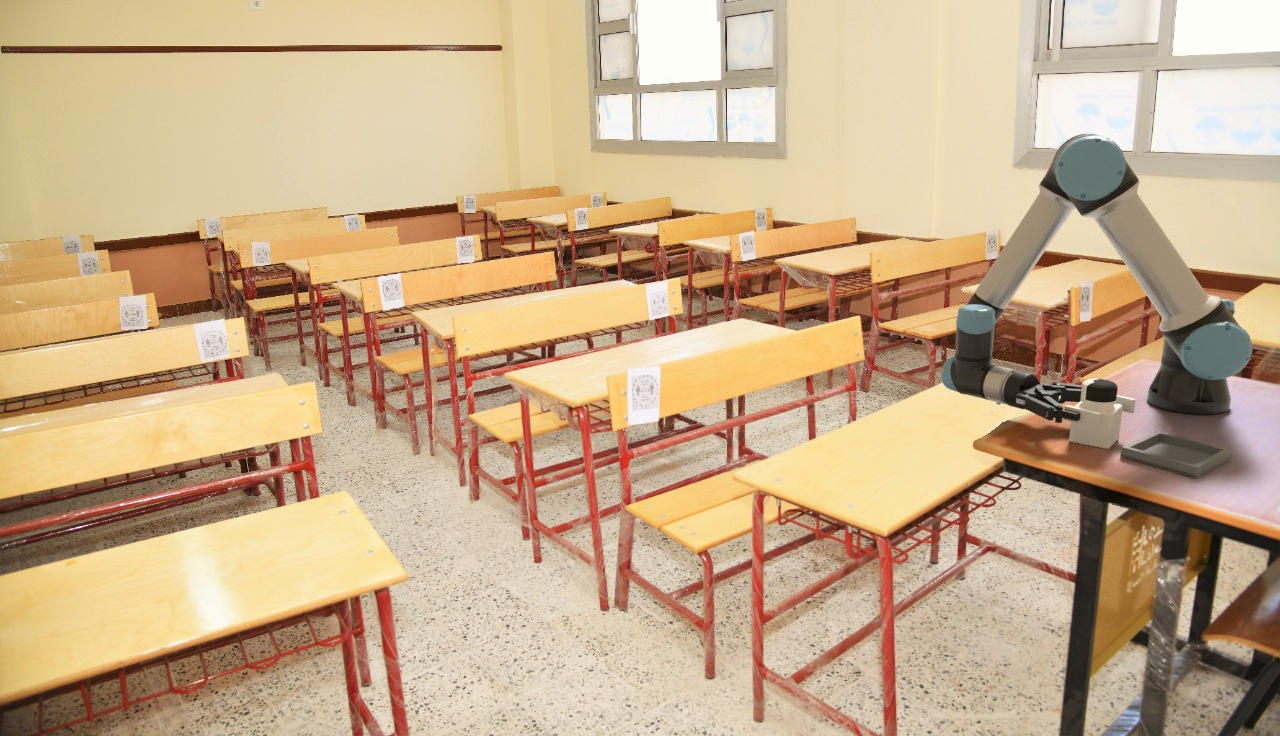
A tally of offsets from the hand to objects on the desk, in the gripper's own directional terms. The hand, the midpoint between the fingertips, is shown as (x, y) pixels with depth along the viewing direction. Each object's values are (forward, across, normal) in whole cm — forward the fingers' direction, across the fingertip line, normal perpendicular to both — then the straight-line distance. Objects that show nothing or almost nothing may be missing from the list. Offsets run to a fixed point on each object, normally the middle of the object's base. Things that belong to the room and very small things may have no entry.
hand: (1116, 413), depth 167 cm
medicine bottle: (-4, 0, -7) cm, 8 cm away
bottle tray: (+10, -2, -6) cm, 12 cm away
